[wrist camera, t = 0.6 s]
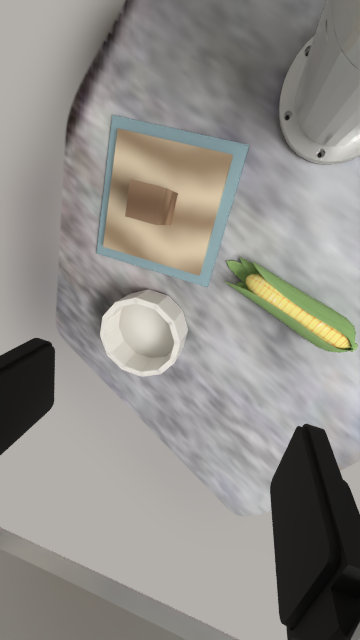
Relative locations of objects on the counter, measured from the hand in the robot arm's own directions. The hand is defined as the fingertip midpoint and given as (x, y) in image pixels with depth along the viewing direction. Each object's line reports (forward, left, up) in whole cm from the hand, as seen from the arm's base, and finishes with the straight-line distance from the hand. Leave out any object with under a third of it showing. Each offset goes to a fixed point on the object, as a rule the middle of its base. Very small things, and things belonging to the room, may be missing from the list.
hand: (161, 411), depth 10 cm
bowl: (+12, -9, -30) cm, 34 cm away
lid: (-6, -11, -30) cm, 33 cm away
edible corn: (+1, +9, -31) cm, 32 cm away
